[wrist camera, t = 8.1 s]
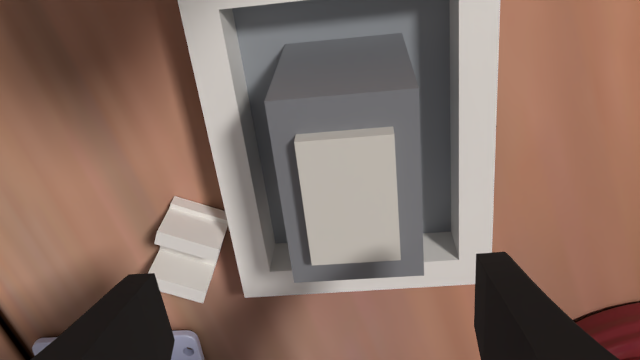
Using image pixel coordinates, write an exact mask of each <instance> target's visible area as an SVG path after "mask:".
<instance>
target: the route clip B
mask: <svg viewBox="0 0 640 360" xmlns="http://www.w3.org/2000/svg"><path fill="white" fill-rule="evenodd" d="M227 227H228V221H227V217H226V213H225V211H223V210H220V209H216V208H213V207H210V206H206V205H203V204H200V203H197V202H193V201H190V200H187V199H183V198H180V197H177V196H174V198H173V200H172V202H171V204H170V208H169V210H168V212H167V214H166V215H165V217H164V219H163V221H162V223H161V225H160V227H159V229H158V231H157V234H156V238H155V242H154V244H156V245H160V250H159V252H158V254H157V256H156V258H155V260H154V262H153V264H152V266H151V268H150V270H149V272H148V273H155V277H156V280H157V283H158V287H159V290H160V291H161V292H164V293H168V294H171V295H175V296H178V297H182V298H186V299H189V300H193V301H196V302H200V303H203V302H204V299H205V296H206V293H207V290H208V287H209V284H210V281H211V279H212V276H213V273H214V269H215V266H216V263H217V260H218V256H219V253H220V250H221V247H222V243H223V240H224V237H225V233H226V230H227Z"/></svg>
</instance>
